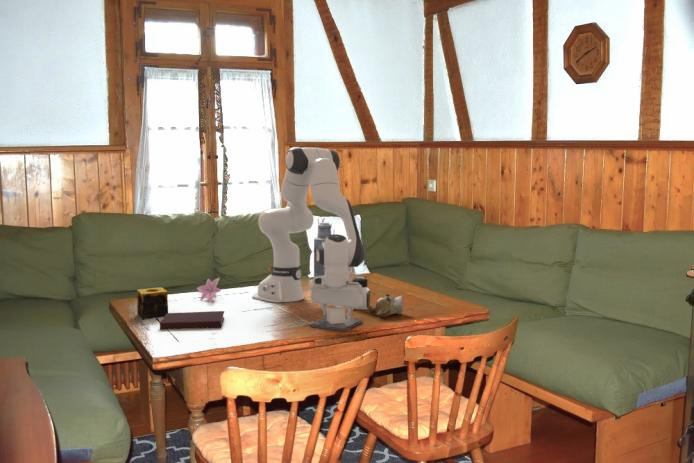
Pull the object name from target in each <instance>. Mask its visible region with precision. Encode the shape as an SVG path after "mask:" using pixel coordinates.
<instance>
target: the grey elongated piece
mask: <svg viewBox="0 0 694 463" xmlns="http://www.w3.org/2000/svg"><path fill="white" fill-rule="evenodd" d="M329 235H332V224H330V223H329V221H327V222H324V221H323V222H320V223H319V224H318V225H317V236H316V237H314V238H313V278H315V277H318V276H321V275H324V274H325V267H323V266H321V265H319V264H318V263H317V262H316V247H317V246H318V245H319V244H320V243H321V242H325V240H326V237H327V236H329Z"/></svg>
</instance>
